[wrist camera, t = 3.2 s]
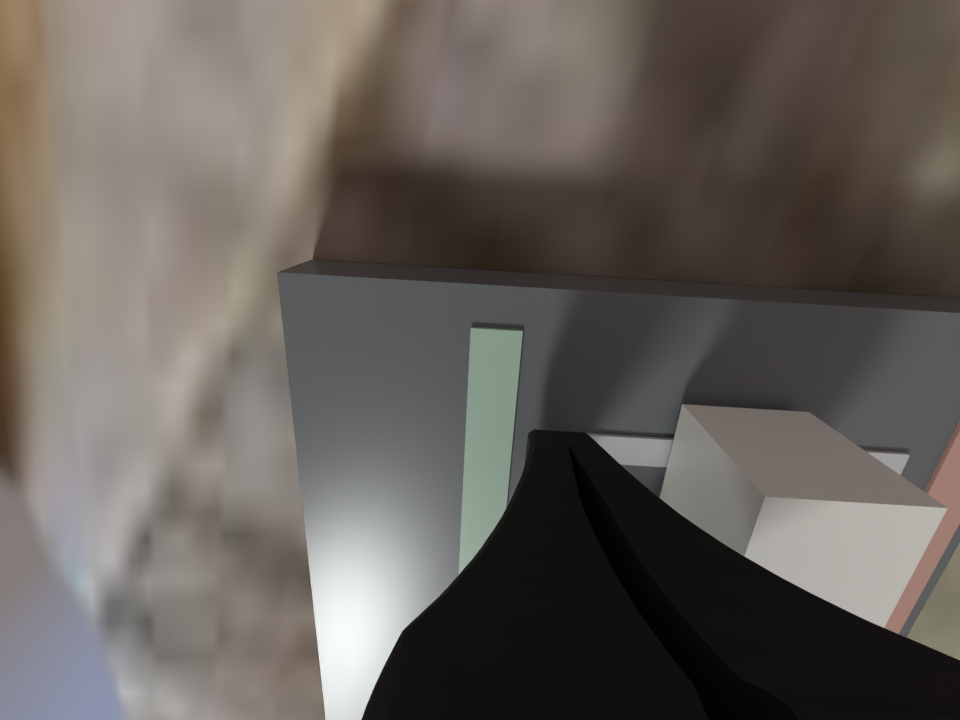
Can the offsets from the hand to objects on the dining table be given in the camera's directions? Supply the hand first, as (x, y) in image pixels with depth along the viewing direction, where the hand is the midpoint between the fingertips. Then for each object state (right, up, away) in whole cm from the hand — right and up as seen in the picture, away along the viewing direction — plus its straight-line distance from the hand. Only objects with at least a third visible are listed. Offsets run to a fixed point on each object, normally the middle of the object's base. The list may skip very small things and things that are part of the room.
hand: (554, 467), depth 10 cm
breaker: (+4, 0, +1) cm, 4 cm away
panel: (+2, -6, +5) cm, 8 cm away
